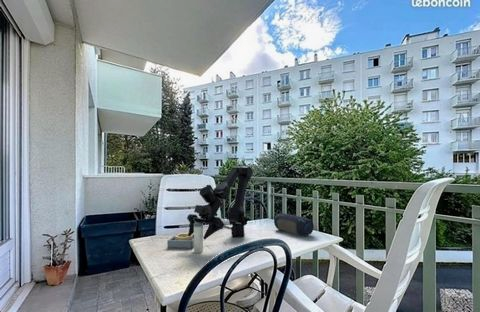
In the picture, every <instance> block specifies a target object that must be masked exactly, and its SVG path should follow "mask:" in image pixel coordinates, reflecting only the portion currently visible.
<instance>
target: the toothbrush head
mask: <svg viewBox="0 0 480 312" xmlns="http://www.w3.org/2000/svg"><path fill="white" fill-rule="evenodd" d="M220 219H221V220H222V222H223V223H224V226H232V225H233V224H230V223H229V219H225V218H221V217H220Z"/></svg>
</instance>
